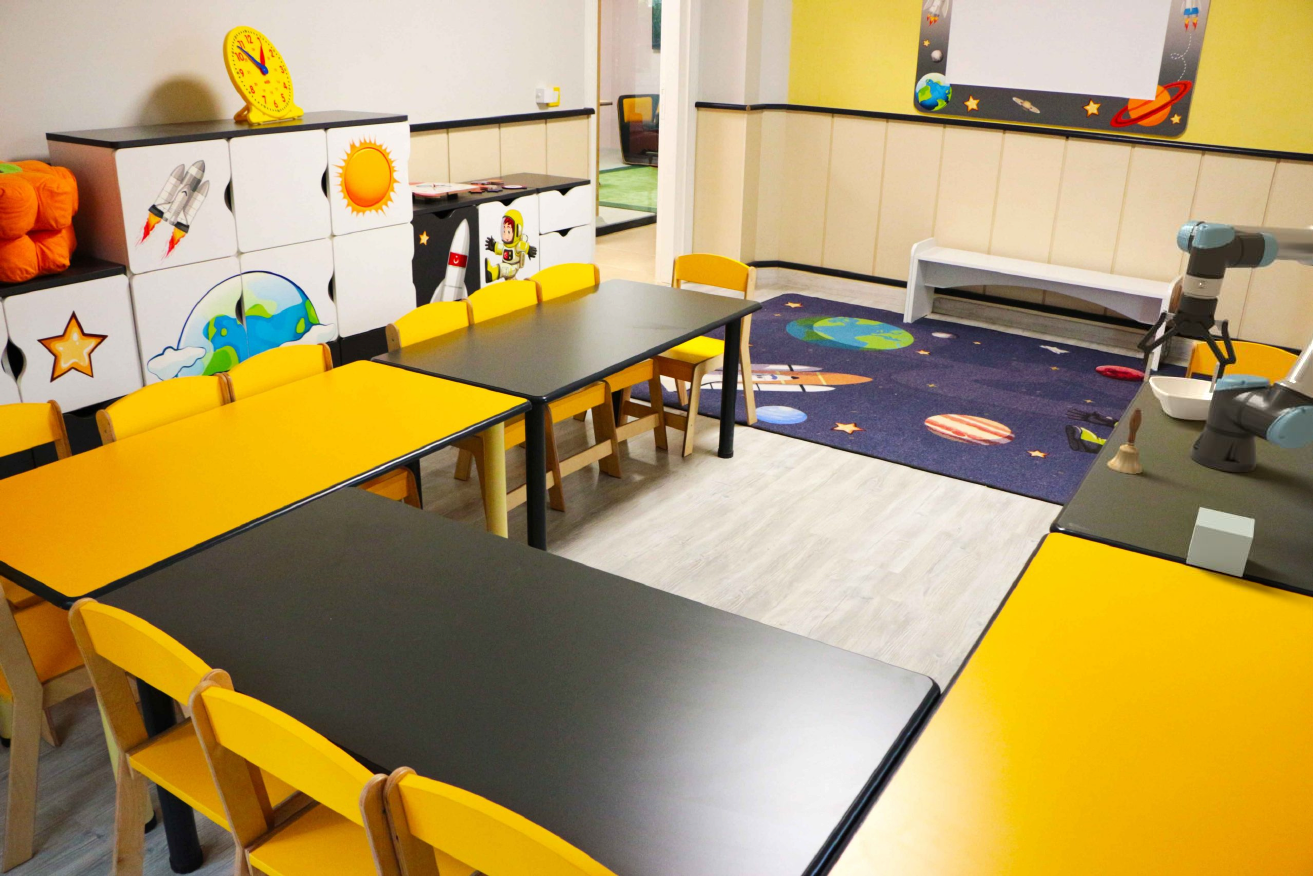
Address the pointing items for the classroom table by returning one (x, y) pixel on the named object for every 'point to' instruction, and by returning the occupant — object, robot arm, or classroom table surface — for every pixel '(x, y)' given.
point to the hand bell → (1128, 449)
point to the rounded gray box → (1221, 541)
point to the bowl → (1183, 396)
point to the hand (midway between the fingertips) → (1178, 385)
